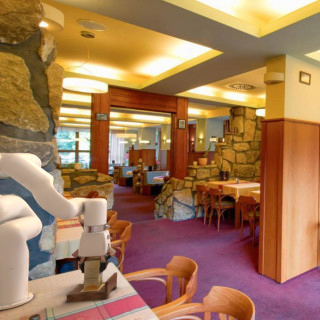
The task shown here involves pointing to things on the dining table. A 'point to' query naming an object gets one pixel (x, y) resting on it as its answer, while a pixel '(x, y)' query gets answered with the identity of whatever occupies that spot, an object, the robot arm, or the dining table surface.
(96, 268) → the shoe polish box
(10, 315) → the dining table surface
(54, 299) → the dining table surface
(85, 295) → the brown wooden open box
